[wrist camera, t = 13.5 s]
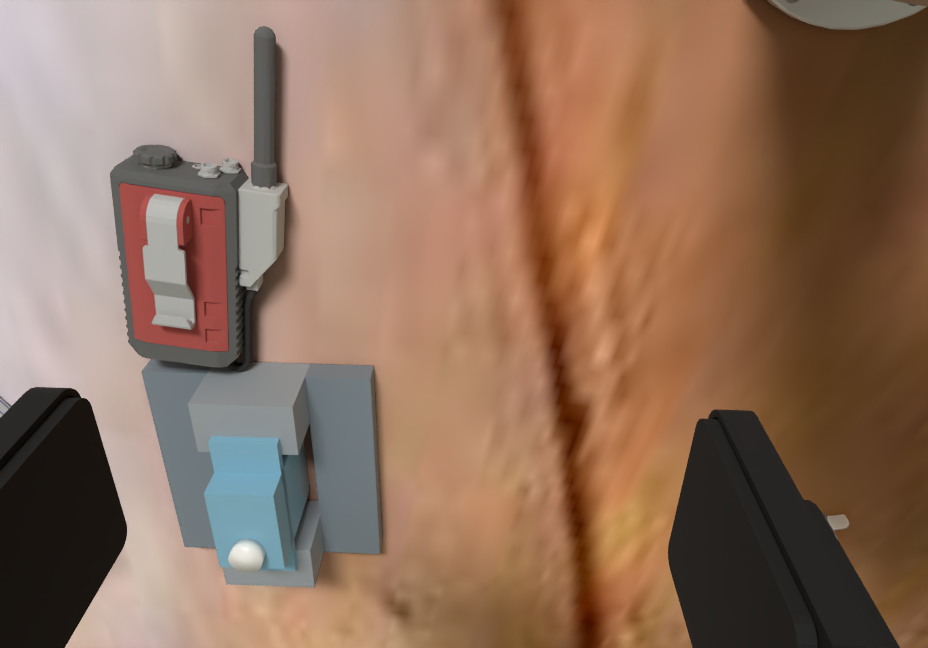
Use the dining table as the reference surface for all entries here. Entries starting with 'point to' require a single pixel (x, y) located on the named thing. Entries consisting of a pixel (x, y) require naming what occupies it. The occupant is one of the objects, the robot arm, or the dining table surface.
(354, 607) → the dining table surface
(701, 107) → the dining table surface
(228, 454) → the block
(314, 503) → the block
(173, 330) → the walkie-talkie
